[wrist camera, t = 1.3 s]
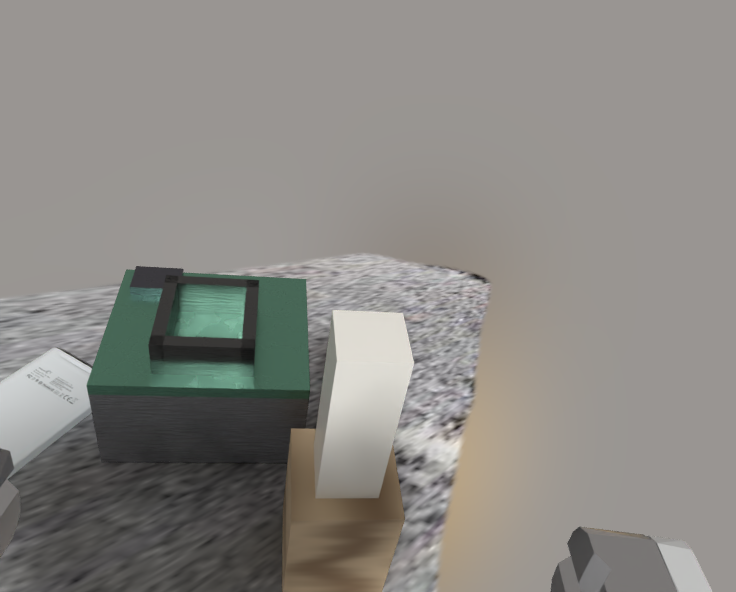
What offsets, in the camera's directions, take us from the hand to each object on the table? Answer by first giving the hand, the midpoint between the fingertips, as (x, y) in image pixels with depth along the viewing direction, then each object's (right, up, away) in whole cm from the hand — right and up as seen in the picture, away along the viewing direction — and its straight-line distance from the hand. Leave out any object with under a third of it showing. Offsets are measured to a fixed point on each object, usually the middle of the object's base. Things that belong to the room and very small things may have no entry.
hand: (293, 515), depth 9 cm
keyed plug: (0, -8, +31) cm, 32 cm away
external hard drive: (-28, -7, +44) cm, 52 cm away
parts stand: (-2, -16, +37) cm, 41 cm away
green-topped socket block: (-13, -6, +47) cm, 49 cm away
